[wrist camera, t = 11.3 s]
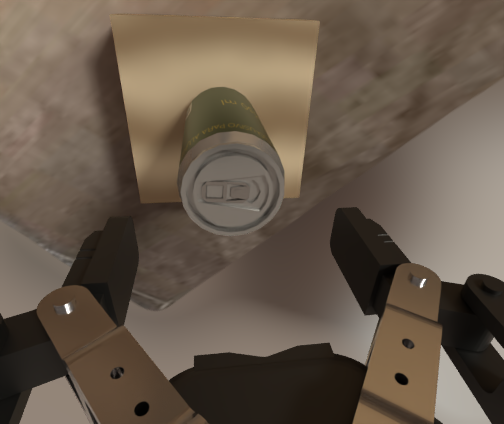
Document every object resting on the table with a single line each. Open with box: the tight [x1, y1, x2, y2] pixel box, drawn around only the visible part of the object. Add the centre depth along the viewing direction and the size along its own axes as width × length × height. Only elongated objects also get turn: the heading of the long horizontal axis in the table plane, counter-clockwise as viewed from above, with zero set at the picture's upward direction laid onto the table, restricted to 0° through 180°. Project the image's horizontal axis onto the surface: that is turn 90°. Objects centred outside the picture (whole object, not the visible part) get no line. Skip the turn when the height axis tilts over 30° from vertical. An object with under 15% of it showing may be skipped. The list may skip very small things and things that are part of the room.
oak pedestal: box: [110, 14, 320, 203], centre depth 28 cm, size 14×14×4 cm
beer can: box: [177, 87, 285, 236], centre depth 21 cm, size 5×5×12 cm
